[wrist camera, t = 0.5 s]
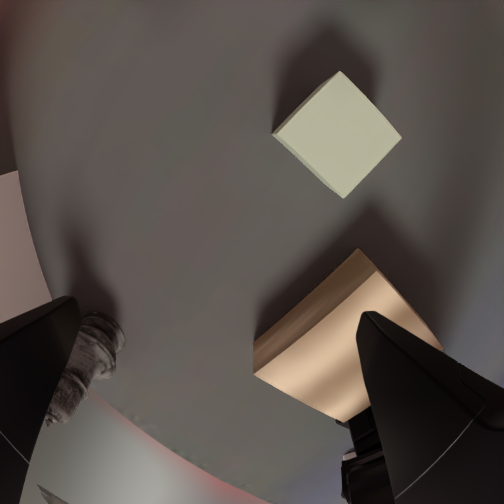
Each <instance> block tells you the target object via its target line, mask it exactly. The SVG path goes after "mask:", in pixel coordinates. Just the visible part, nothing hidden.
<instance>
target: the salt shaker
mask: <svg viewBox="0 0 504 504" xmlns="http://www.w3.org/2000/svg"><path fill="white" fill-rule="evenodd" d="M81 317H82V325H81V328H80V330H79V333H78V336H77V338H76V341H75V344H74V347H73V350H72V353H71V355H70V358H69V361H68V363H67V366H66V368H65V370H64V372H63V375H62V377H61V379H60V381H59V384H58V386H57V389H56V391H55V393H54V396H53V398H52V401H51V403H50V406H49V408H48V411H47V413H46V415H47V417H48V419H47V420H45V421H46V424H47V427H49V426H51V425H53V423H52V422H57V423H62V424H65V423H68V422H70V420H71V419H72V417H73V415H74V413H75V411H76V409H77V407H78V405H79V403H80V401H81V400H85V399H87V397H88V391H87V389H88V388H89V386H90V384H91V382H92V380H93V379H94V378H95V379H108V378H110V377H112V376H113V375H114V373H115V371H116V364H115V363H116V354H117V353H119V352H121V351H122V350H123V348H124V346H125V337H124V334H123V332H122V330H121V328H120V327H119V326H118V325H117V323H116V322H114V321H113V320H112V319H111V318H109V317H108V316H106V315H104V314H102V313H100V312H94V311H90V312H86V313H84V314H83V315H82V316H81Z"/></svg>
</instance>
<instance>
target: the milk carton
mask: <svg viewBox="0 0 504 504" xmlns="http://www.w3.org/2000/svg"><path fill="white" fill-rule="evenodd" d="M50 301H52V298H51V295H50V293H49V290H48V287H47V284H46V282H45V279H44V276H43V273H42V270H41V267H40V264H39V261H38V257H37V254H36V251H35V247H34V244H33V240H32V237H31V233H30V229H29V225H28V221H27V217H26V212H25V208H24V203H23V198H22V193H21V187H20V182H19V176H18V170H17V171H13V172H10V173H7V174H4V175H0V323H2V322H4V321H7V320H9V319H11V318H13V317H16V316H18V315H20V314H22V313H25V312H27V311H29V310H32V309H34V308H36V307H39V306H41V305H43V304H46V303H48V302H50Z"/></svg>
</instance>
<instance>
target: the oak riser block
mask: <svg viewBox="0 0 504 504" xmlns="http://www.w3.org/2000/svg"><path fill="white" fill-rule="evenodd" d="M364 311H377V312H378V313H380V314H381V315H383V316H385V317H386V318H388V319H390V320H391V321H393V322H395V323H396V324H398V325H399V326H401V327H403V328H404V329H406V330H408V331H409V332H411V333H412V334H414V335H416V336H417V337H419V338H420V339H422V340H424V341H425V342H427V343H428V344H430V345H432V346H433V347H435V348H437V349H438V350H440V351H442V350H443V347H442V346H441V344H440V343H439V341H438V340H437V339H436V337H435V336H434V335H433V333H432V332H431V330H430V329H429V328H428V326H427V325H426V324H425V322H424V321H423V320H422V319H421V318H420V316H419V315H418V314H417V313H416V312H415V310H414V309H413V308H412V307H411V306H410V305H409V303H408V302H407V301H406V300H405V299H404V298H403V296H402V295H401V294H400V293H399V292H398V291H397V290H396V288H395V287H394V286H393V285H392V284H391V283H390V282H389V281H388V279H387V278H386V277H385V276H384V275H383V274H382V273H381V272H380V271H379V269H378V268H377V267H376V266H375V265H374V264H373V263H372V262H371V261H370V260H369V259H368V258H367V256H366V255H365V254H364V253H363V252H362V251H361V250H360V249H359V248H357V249H356V250H355V251H354V252H353V253H352V254H351V255H350V256H349V257H348V258H347V259H346V260H345V261H344V262H343V263H342V264H341V265H340V266H339V267H337V268H336V269H335V270H334V271H333V272H332V273H331V274H330V275H329V276H328V277H327V278H326V279H325V280H324V281H323V282H321V283H320V284H319V285H318V286H317V287H316V288H315V289H314V290H313V291H312V292H311V293H310V294H308V295H307V296H306V297H305V298H304V299H303V300H302V301H301V302H300V303H298V304H297V305H296V306H295V307H294V308H293V309H292V310H291V311H289V312H288V313H287V314H286V315H285V316H284V317H283V318H281V319H280V320H279V321H278V322H277V323H276V324H274V325H273V326H272V327H271V328H270V329H269V330H267V331H266V332H265V333H264V334H263V335H262V336H260V337H259V338H258V339H257V340H256V341H254V342H253V374H254V375H255V376H257V377H259V378H260V379H262V380H264V381H265V382H267V383H269V384H271V385H272V386H274V387H276V388H278V389H280V390H281V391H283V392H285V393H287V394H289V395H290V396H292V397H294V398H296V399H298V400H300V401H302V402H303V403H305V404H307V405H309V406H311V407H313V408H315V409H317V410H319V411H321V412H323V413H325V414H327V415H329V416H331V417H333V418H335V419H337V420H339V421H341V422H343V423H344V422H346V421H347V420H349V419H351V418H352V417H354V416H355V415H357V414H358V413H360V412H362V411H363V410H365V409H366V408H368V407H369V406H371V404H370V401H369V397H368V394H367V391H366V387H365V384H364V380H363V375H362V370H361V364H360V359H359V354H358V348H357V343H356V331H357V328H358V324H359V321H360V317H361V314H362V313H363V312H364Z"/></svg>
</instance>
